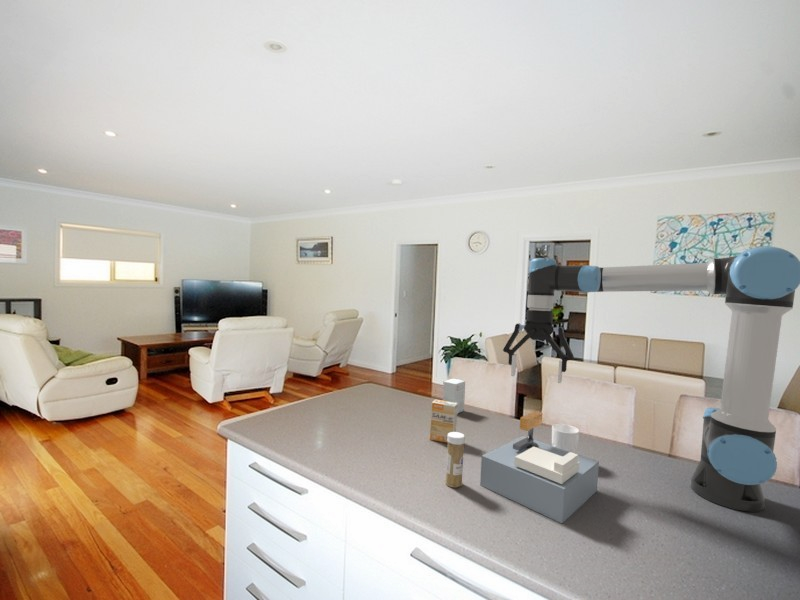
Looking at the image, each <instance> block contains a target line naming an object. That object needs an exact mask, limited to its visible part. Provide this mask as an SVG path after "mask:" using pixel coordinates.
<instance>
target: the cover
mask: <svg viewBox="0 0 800 600" xmlns="http://www.w3.org/2000/svg"><path fill="white" fill-rule="evenodd" d="M578 455H579V454H578V453H576V454H575V453H572V452H569V453H568V454H566V455H565V456H560V455H557V454H554V453H551V452H548V451H545V450H542V449H539V448H537V447H532V448H530V449H528V450H526V451H525V452H523V453H521V454H519V455H517V456H515V463H514V465H515V466H517V467H520V468H522V469H525V470H527V471H530V472H532V473H535V474H537V475H540V476H542V477H545V478H547V479H550V480H552V481H555V482H557V483H560V484H563V483H564V482H565V481H567V480H568V479H569V478H570V477H572V476H573V475H574V474H576V473H577V472H578V471H579V462H578Z"/></svg>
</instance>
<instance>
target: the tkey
mask: <svg viewBox="0 0 800 600" xmlns="http://www.w3.org/2000/svg"><path fill="white" fill-rule="evenodd" d="M542 424H543V413H542V412H540V411H536V410H535V411H532V412H531V413H528V414H525V415H523V416H521V417H520V419H519V430H522V431H525V432H527V436H526V437H527V438H524V439H522V440H520V441H518V442H516V443H514V444H513V449H515V450H518V451H520V450H522V449H524V448H526V447H528V446H530V445H532V444H533V442H534V440H535V439H534V428H536V427H538V426H540V425H542Z"/></svg>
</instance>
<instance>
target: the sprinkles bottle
mask: <svg viewBox="0 0 800 600" xmlns="http://www.w3.org/2000/svg"><path fill="white" fill-rule="evenodd" d="M465 437H466V436H465V434H464V433H462V432H458V431H456V432H450V433H448V436H447V441H448V443H447V448H446V449H447V451H446V465H445V467H446V469H445V470H446V471H445V474H446V475H445V484H446V485H447V487H450V488H460V487H462V486H463V473H464V471H463V469H464V448H465V447H464V446H465V445H464V444H465Z"/></svg>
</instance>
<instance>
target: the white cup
mask: <svg viewBox="0 0 800 600" xmlns="http://www.w3.org/2000/svg"><path fill="white" fill-rule="evenodd" d="M579 436H580V429H578V428H577V427H575V426H573V425H569V424H564V423H556V424H553V425H551V446H554V447H557V448H560V449H563V450H566V451H569V452H572V453H575V454H578V445H579V439H580V438H579Z"/></svg>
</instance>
